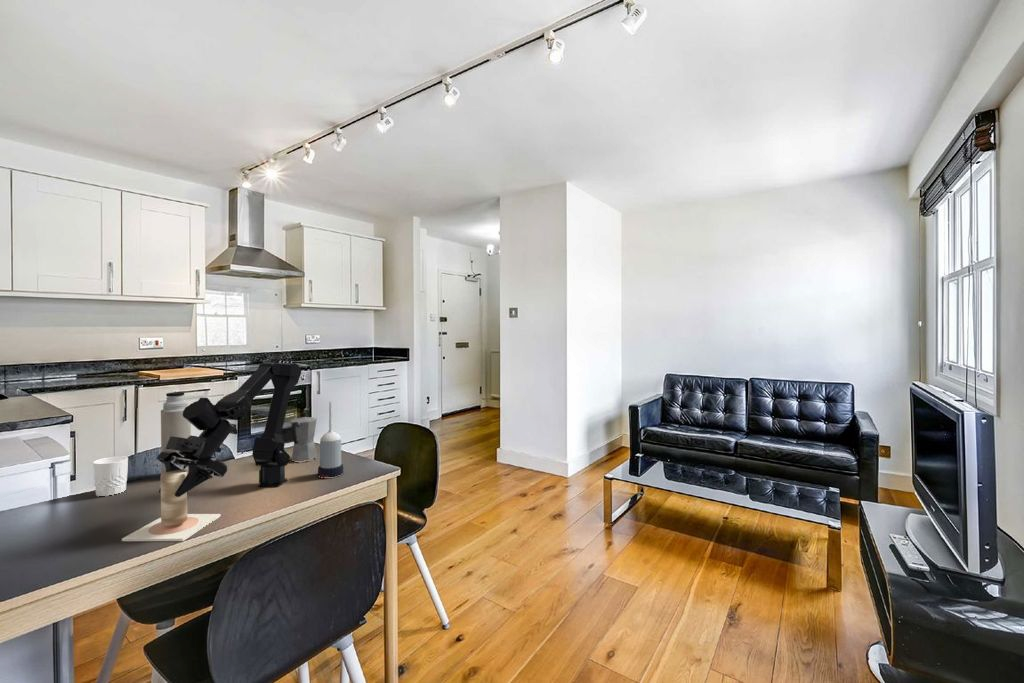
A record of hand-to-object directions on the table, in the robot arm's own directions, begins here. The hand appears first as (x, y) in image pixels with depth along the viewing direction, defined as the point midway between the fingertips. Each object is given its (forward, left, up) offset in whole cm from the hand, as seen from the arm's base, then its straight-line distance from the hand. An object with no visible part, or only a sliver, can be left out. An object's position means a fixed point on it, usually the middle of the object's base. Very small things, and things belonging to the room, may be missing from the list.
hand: (168, 494), depth 110 cm
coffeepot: (-6, -59, -9) cm, 60 cm away
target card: (0, -1, -9) cm, 9 cm away
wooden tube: (0, -1, -7) cm, 7 cm away
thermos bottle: (+28, -41, -9) cm, 51 cm away
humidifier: (-23, -42, -9) cm, 49 cm away
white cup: (+36, -25, -9) cm, 44 cm away
